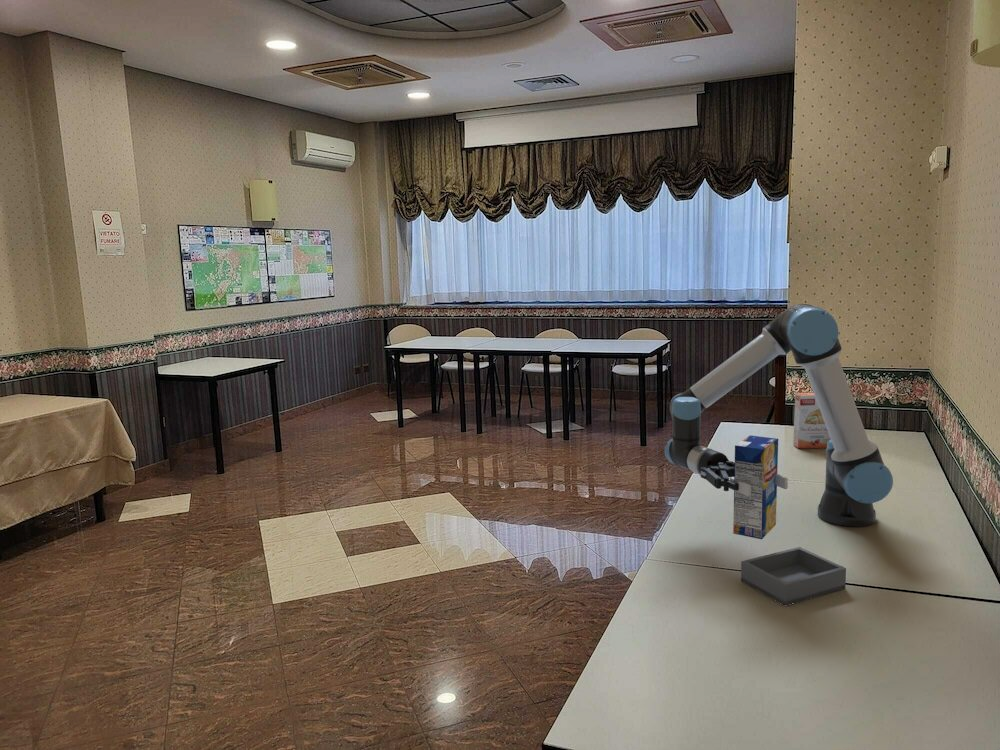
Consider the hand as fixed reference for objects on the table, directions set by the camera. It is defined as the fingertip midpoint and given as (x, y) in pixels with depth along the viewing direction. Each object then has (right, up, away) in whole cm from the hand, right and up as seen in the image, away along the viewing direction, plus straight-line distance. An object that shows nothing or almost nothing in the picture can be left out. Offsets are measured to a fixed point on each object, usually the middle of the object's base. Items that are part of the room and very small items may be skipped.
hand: (768, 487), depth 176 cm
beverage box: (-1, -11, +6) cm, 13 cm away
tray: (+5, -22, -2) cm, 23 cm away
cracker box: (+57, -1, +110) cm, 124 cm away
